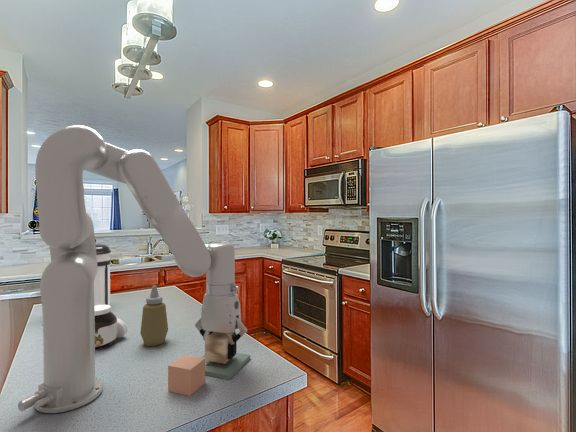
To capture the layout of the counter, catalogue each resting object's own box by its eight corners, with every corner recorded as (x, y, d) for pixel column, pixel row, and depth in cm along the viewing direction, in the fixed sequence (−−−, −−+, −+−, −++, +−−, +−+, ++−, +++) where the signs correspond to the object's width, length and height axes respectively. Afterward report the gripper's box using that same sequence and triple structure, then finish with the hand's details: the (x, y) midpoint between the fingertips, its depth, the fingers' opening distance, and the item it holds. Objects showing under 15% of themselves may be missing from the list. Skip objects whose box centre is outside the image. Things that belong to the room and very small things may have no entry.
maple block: (235, 354, 89) (235, 332, 89) (224, 363, 84) (224, 340, 83) (216, 350, 91) (216, 329, 91) (204, 360, 85) (204, 337, 85)
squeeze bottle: (140, 340, 104) (140, 284, 103) (167, 336, 107) (167, 282, 107) (140, 350, 96) (139, 289, 96) (168, 345, 99) (168, 287, 99)
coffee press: (92, 304, 142) (91, 236, 141) (122, 307, 137) (122, 237, 137) (54, 317, 125) (53, 239, 125) (86, 321, 121) (86, 241, 120)
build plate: (229, 379, 80) (229, 375, 80) (188, 371, 84) (188, 367, 84) (250, 358, 91) (250, 355, 91) (213, 352, 95) (213, 348, 95)
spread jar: (74, 351, 95) (74, 312, 95) (91, 336, 106) (91, 301, 106) (118, 349, 97) (117, 310, 97) (130, 334, 108) (130, 300, 108)
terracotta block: (190, 396, 73) (190, 369, 73) (168, 391, 75) (168, 365, 75) (205, 382, 78) (205, 358, 78) (184, 378, 80) (184, 354, 80)
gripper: (255, 288, 88) (255, 354, 88) (200, 283, 93) (201, 345, 94) (243, 295, 81) (243, 366, 81) (184, 289, 86) (185, 356, 86)
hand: (220, 354), depth 87 cm, fingers closed on maple block, 6 cm apart
